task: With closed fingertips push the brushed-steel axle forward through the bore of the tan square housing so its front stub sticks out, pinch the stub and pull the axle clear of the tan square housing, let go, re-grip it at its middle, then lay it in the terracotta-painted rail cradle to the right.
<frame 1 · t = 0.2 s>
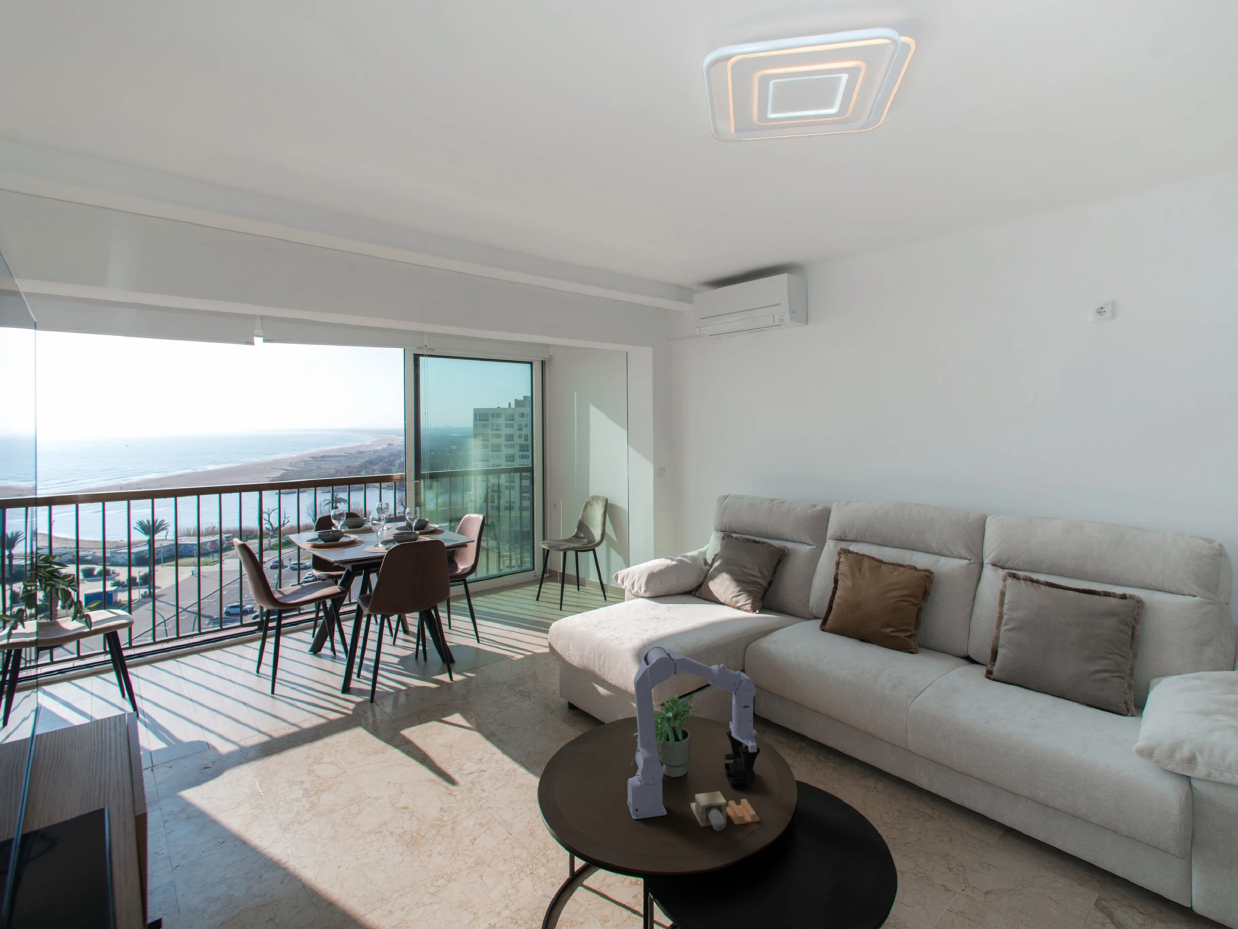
hand: (742, 764, 169), 10 cm above the table, fingers open, 7 cm apart
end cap: (739, 781, 179), on the table
cradle: (742, 815, 162), on the table
tan square housing: (710, 819, 161), on the table
axle: (712, 812, 159), point 3 cm above the table, touching tan square housing
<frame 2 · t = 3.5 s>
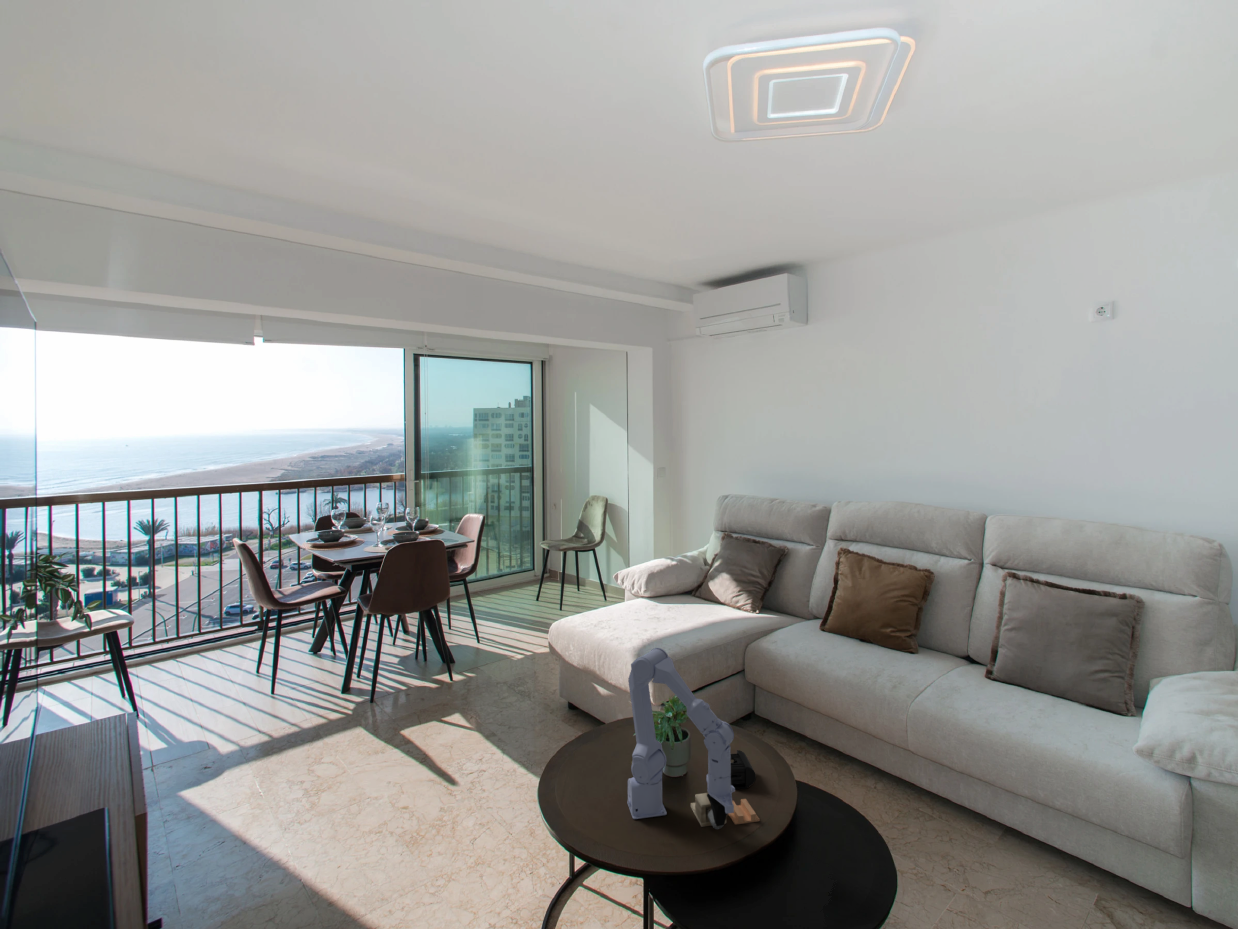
hand: (719, 824, 154), 3 cm above the table, fingers closed
axle: (711, 810, 160), point 3 cm above the table, touching gripper
everything else where it was.
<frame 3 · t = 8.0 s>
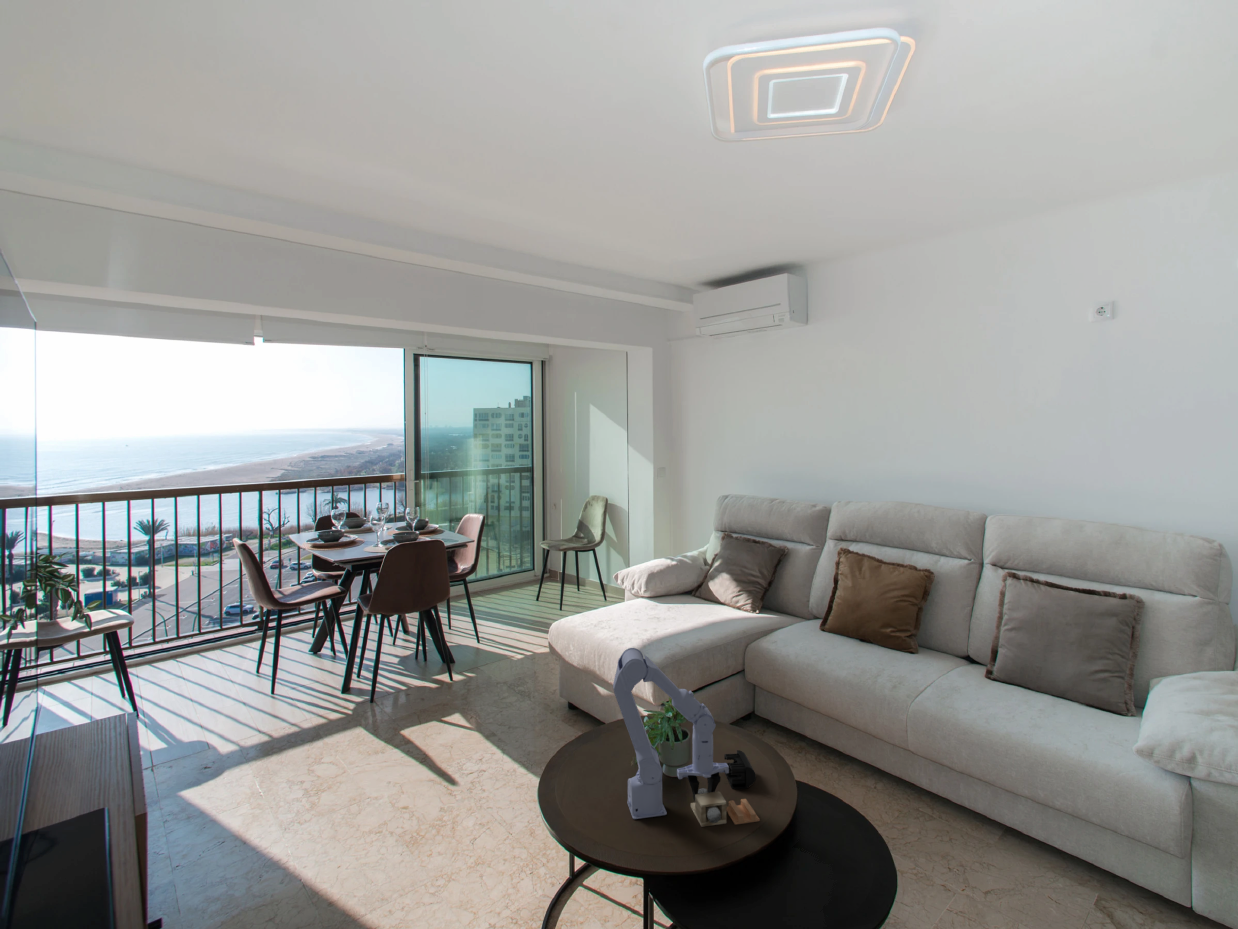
hand: (703, 800, 167), 2 cm above the table, fingers closed on axle, 4 cm apart
axle: (708, 805, 162), point 3 cm above the table, touching tan square housing, gripper
everything else where it was.
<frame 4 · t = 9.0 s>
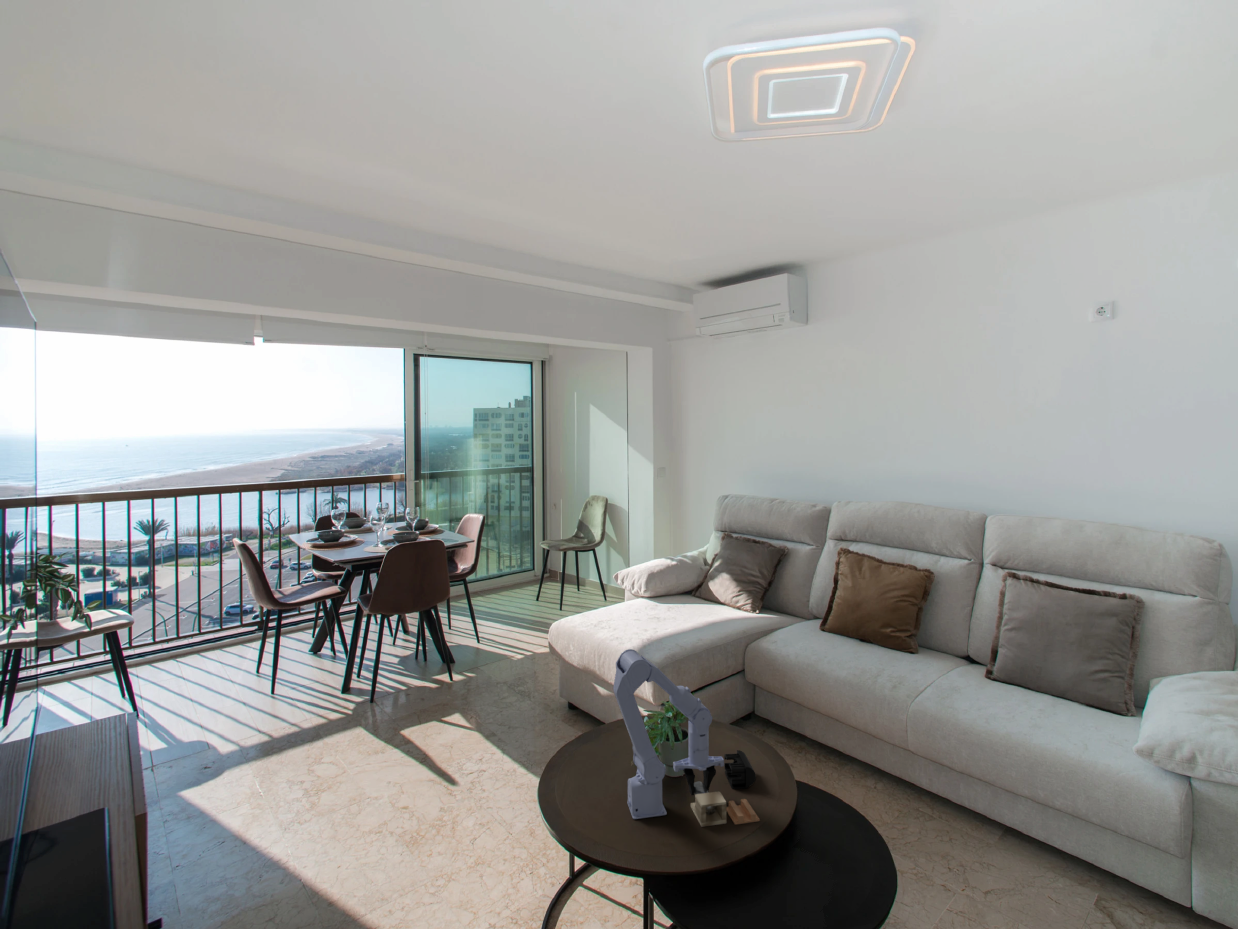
hand: (698, 792, 170), 2 cm above the table, fingers closed on axle, 4 cm apart
axle: (703, 797, 166), point 3 cm above the table, touching gripper
everything else where it was.
when the fingers open (2 cm above the table, at t = 10.1 s): axle stays where it is, resting on tan square housing.
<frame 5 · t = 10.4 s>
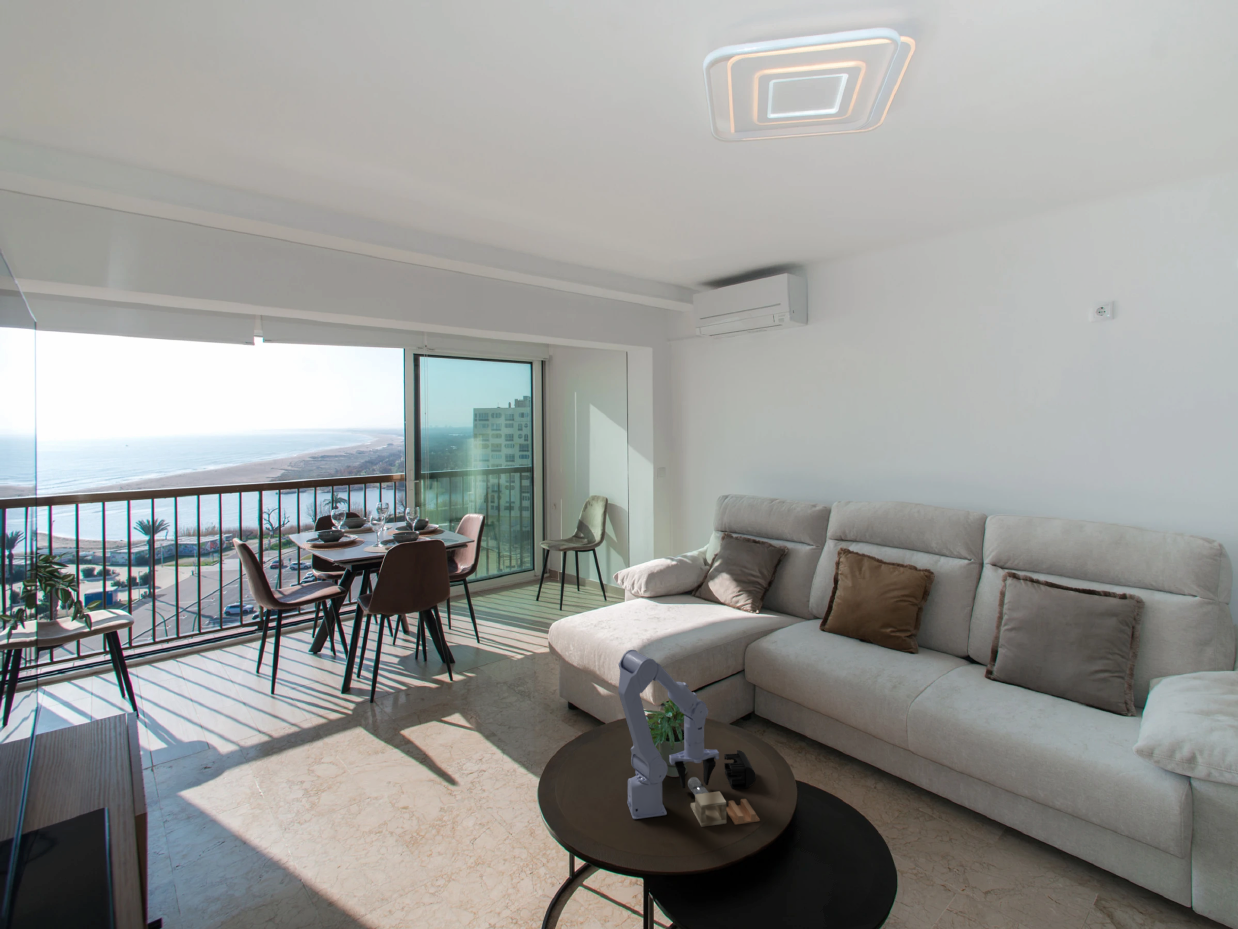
hand: (694, 784, 174), 2 cm above the table, fingers open, 6 cm apart
axle: (699, 790, 170), point 2 cm above the table, tilted 8°, touching tan square housing
everything else where it was.
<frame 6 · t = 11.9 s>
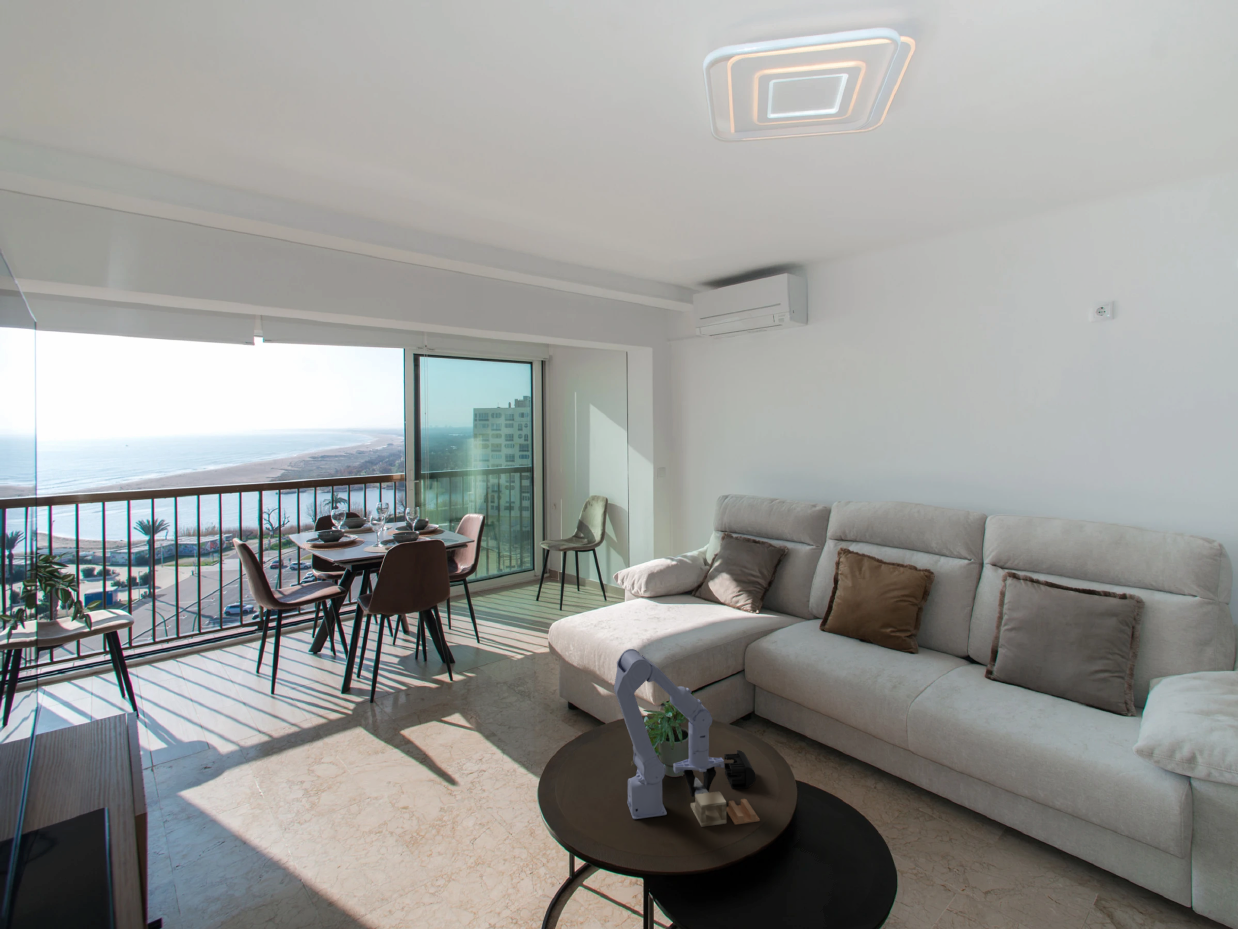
hand: (698, 793, 170), 1 cm above the table, fingers closed on axle, 4 cm apart
axle: (699, 790, 170), point 2 cm above the table, tilted 8°, touching tan square housing, gripper
everything else where it was.
when the fingers open (3 cm above the table, at t = 15.3 s): axle stays where it is, resting on cradle.
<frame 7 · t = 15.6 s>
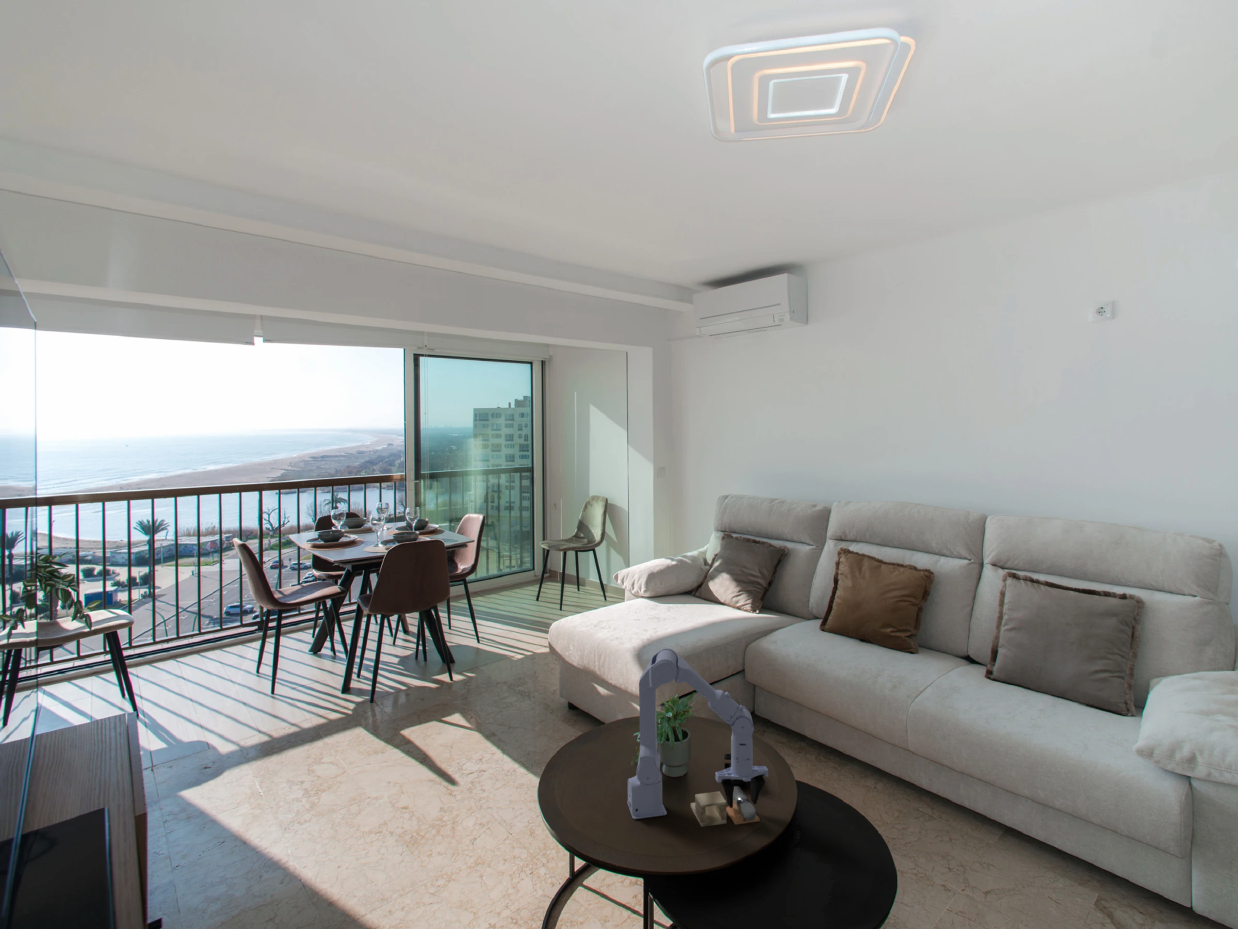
hand: (742, 804, 162), 3 cm above the table, fingers open, 6 cm apart
axle: (742, 803, 162), point 4 cm above the table, tilted 9°, touching cradle
everything else where it was.
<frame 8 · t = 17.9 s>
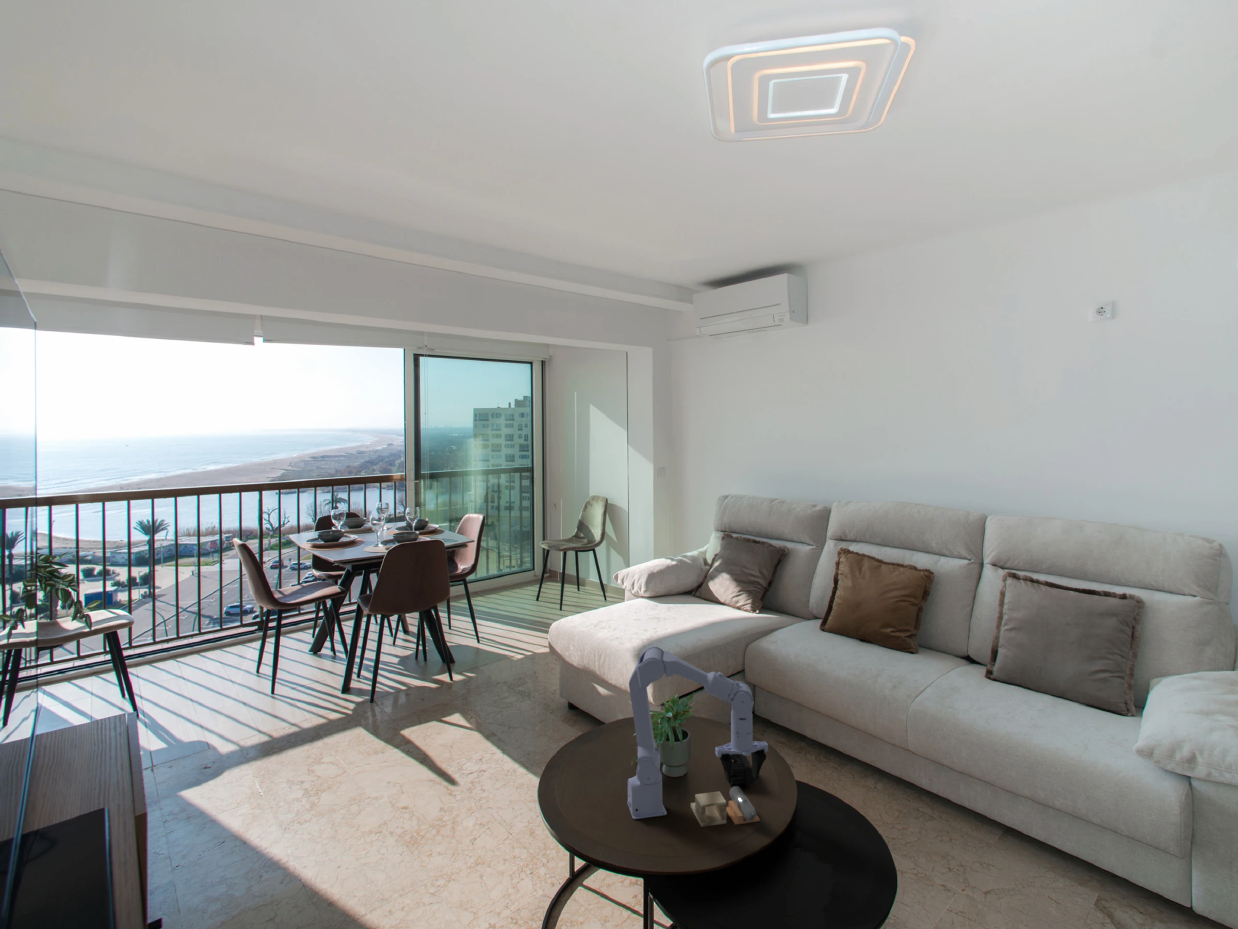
hand: (741, 779, 162), 10 cm above the table, fingers open, 7 cm apart
nothing on the table moved.
at the end: axle 0.3 cm off-centre on the cradle, point 3.5 cm above the cradle's base; the gripper is holding nothing; axle touching cradle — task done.
